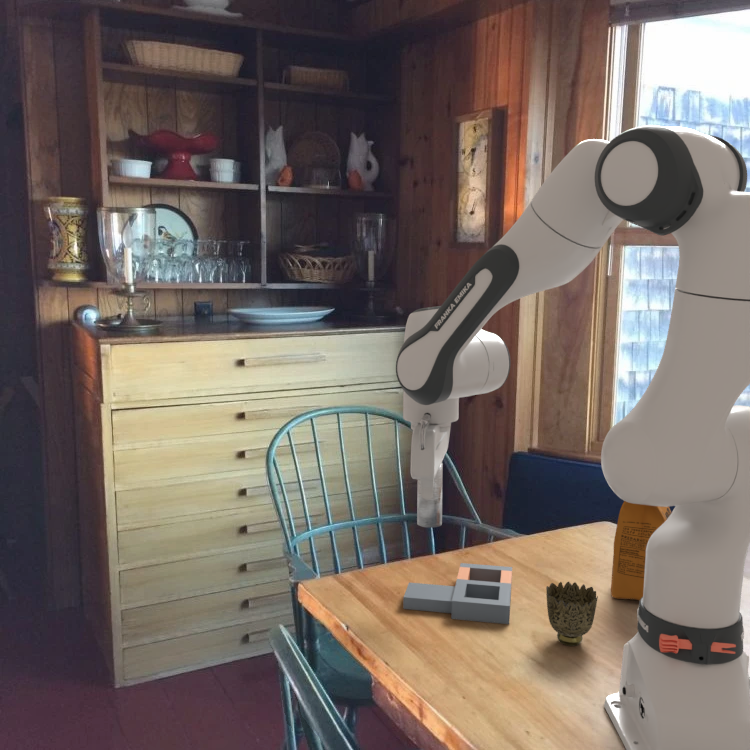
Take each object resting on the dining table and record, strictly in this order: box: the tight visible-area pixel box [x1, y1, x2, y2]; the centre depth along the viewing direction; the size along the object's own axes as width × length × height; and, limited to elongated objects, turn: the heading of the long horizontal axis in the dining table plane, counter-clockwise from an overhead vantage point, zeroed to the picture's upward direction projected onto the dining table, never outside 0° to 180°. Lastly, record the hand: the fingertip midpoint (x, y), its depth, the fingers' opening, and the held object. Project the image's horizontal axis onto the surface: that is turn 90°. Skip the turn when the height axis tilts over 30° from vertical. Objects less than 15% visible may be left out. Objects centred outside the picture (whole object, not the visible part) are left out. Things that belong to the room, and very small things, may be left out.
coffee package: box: [610, 500, 672, 602], centre depth 135 cm, size 10×12×22 cm
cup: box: [545, 581, 599, 647], centre depth 118 cm, size 8×7×8 cm
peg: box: [416, 462, 444, 528], centre depth 129 cm, size 4×4×10 cm
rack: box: [402, 562, 513, 625], centre depth 133 cm, size 16×17×3 cm
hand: (430, 492), depth 129 cm, fingers closed on peg, 4 cm apart
